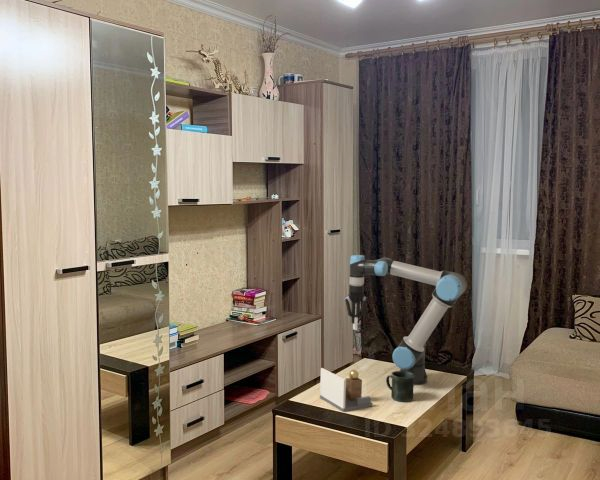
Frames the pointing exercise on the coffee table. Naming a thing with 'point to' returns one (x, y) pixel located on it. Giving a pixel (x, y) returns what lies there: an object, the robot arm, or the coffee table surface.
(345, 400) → the stand
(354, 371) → the slider
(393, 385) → the mug
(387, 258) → the robot arm
